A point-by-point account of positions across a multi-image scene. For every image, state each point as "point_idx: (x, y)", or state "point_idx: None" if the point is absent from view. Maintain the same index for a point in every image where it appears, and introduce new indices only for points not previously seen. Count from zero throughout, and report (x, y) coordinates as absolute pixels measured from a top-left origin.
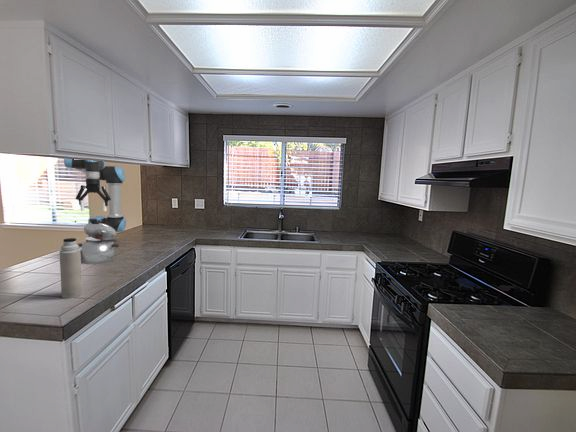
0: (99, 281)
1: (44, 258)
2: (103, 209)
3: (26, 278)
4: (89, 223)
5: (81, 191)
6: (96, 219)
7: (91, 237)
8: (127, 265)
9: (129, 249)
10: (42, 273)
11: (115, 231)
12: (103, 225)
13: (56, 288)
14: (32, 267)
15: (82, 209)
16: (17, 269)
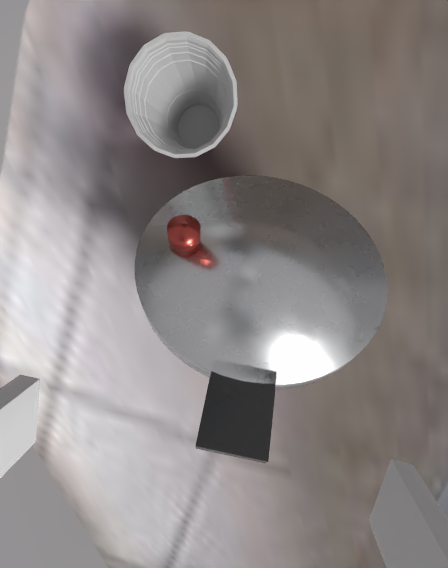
0: (314, 532)
1: (12, 193)
2: (381, 551)
3: (88, 452)
4: (183, 356)
5: None
6: (265, 462)
7: (151, 50)
8: (389, 375)
9: (377, 24)
10: (109, 412)
11: (383, 284)
12: (314, 382)
13: (210, 556)
14: (40, 331)
15: (24, 442)
16: (6, 347)
